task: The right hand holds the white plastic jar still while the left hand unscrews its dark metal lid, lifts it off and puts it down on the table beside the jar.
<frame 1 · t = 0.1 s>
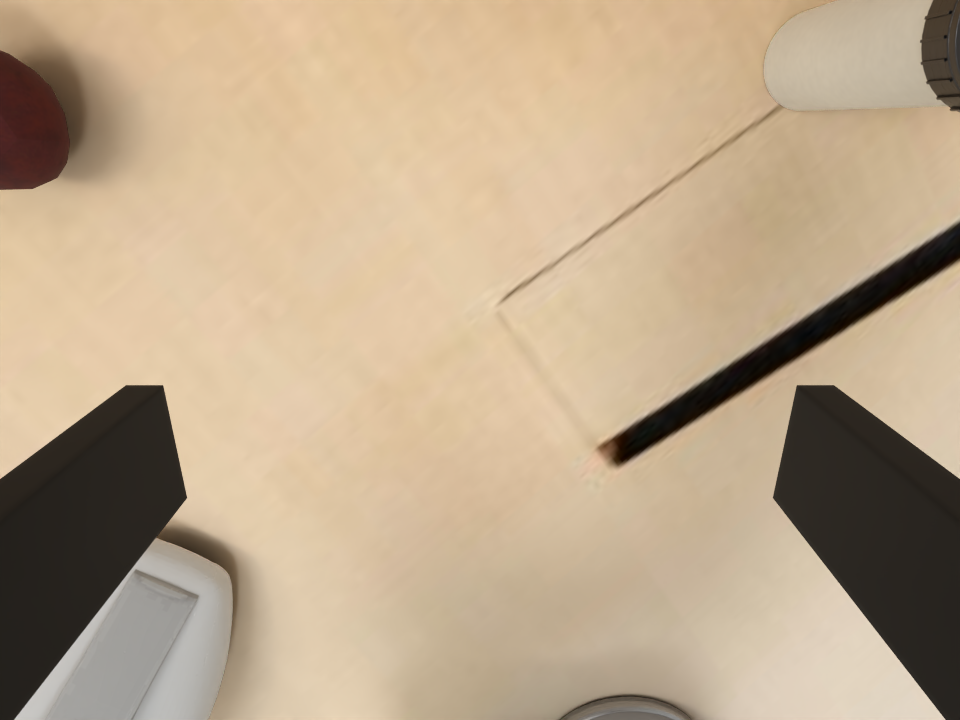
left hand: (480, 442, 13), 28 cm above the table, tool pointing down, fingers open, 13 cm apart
projector: (144, 631, 51), on the table
dark red ball: (35, 121, 36), on the table
jar: (809, 61, 35), on the table
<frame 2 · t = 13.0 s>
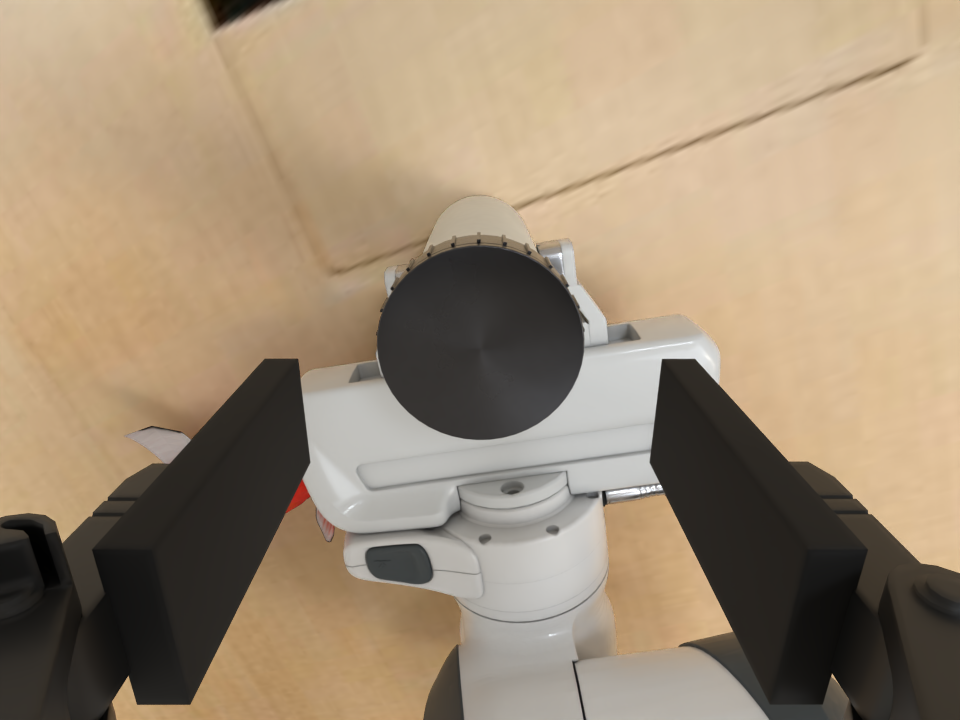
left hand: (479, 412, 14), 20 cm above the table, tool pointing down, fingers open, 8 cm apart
right hand: (476, 254, 26), fingers closed on jar, 5 cm apart
lid: (480, 345, 18), point 16 cm above the table, screwed on, not yet turned
fish: (253, 465, 38), on the table
jar: (480, 246, 33), on the table, touching right hand
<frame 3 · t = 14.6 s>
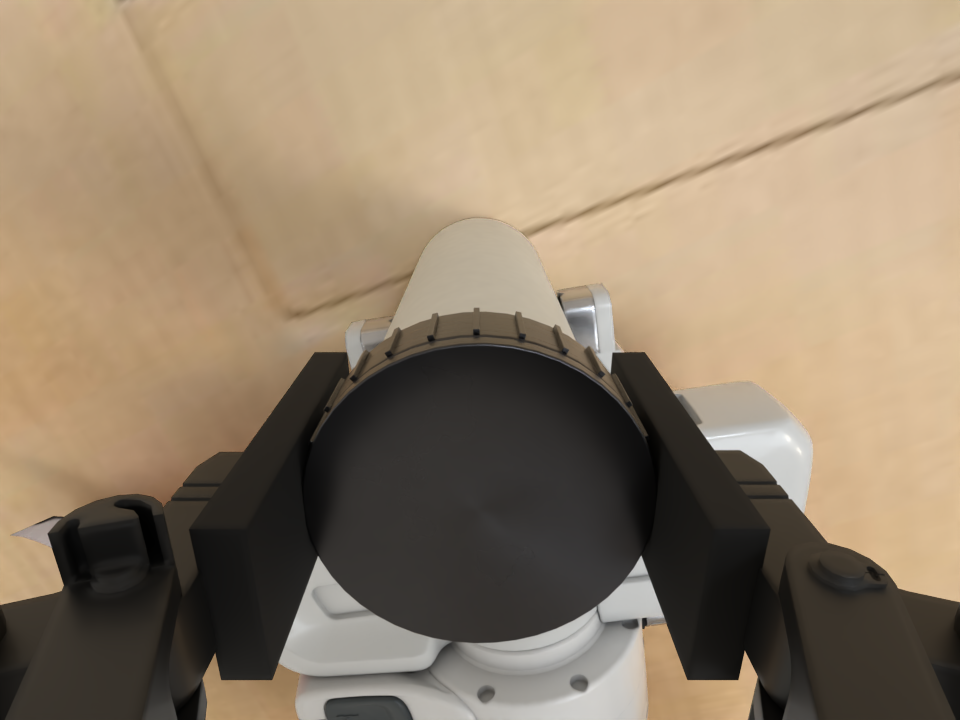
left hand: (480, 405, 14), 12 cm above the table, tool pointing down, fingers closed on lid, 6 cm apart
lid: (479, 498, 11), point 16 cm above the table, screwed on, not yet turned, touching left hand
fish: (197, 549, 30), on the table
jar: (479, 282, 25), on the table, touching right hand
when the left hand's fingers open (12 cm above the table, at t = 16.1 s): lid stays where it is, point 16 cm above the table.
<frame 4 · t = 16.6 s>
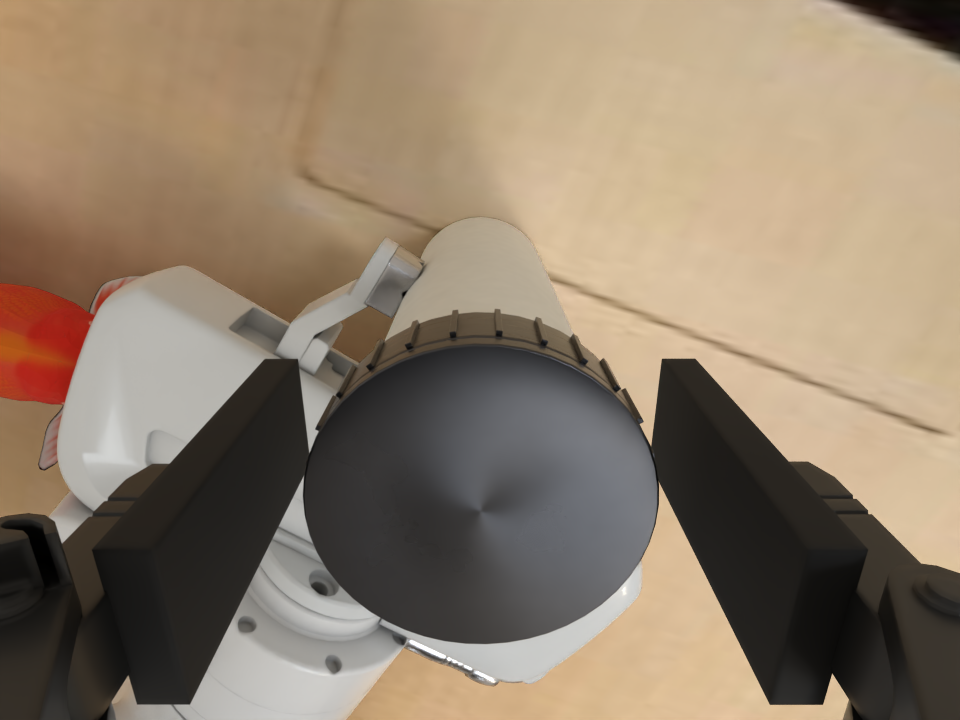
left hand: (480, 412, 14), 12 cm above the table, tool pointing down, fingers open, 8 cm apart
right hand: (494, 308, 19), fingers closed on jar, 5 cm apart
lid: (480, 499, 11), point 16 cm above the table, turned 91° so far, risen 0.2 cm, still on its thread
fish: (17, 297, 26), on the table
jar: (480, 281, 26), on the table, touching right hand
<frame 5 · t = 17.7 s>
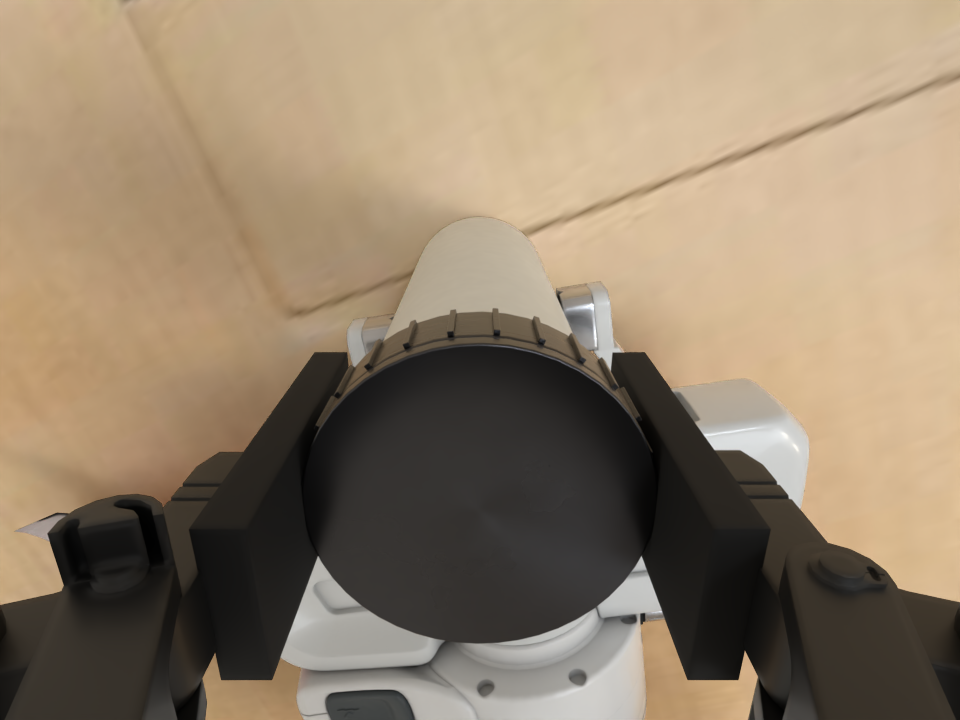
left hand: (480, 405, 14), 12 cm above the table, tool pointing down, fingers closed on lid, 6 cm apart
lid: (479, 498, 11), point 16 cm above the table, turned 91° so far, risen 0.2 cm, still on its thread, touching left hand
fish: (198, 546, 31), on the table
jar: (479, 281, 26), on the table, touching right hand
when the left hand's fingers open (0 cm above the table, at t = 25.2 s): lid drops 3 cm, point 1 cm above the table.
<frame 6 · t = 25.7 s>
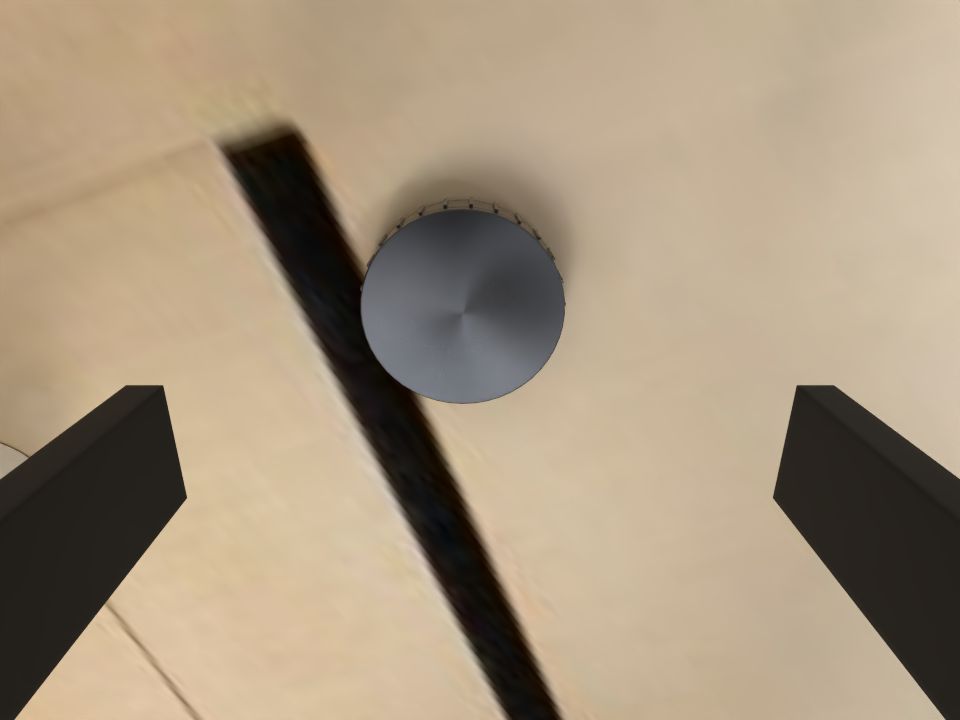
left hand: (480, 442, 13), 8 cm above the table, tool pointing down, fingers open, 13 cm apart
lid: (462, 309, 19), point 1 cm above the table, off its thread
when the right hand's fingers open (7 cm above the table, at t = 26.0 s): jar stays where it is, on the table.
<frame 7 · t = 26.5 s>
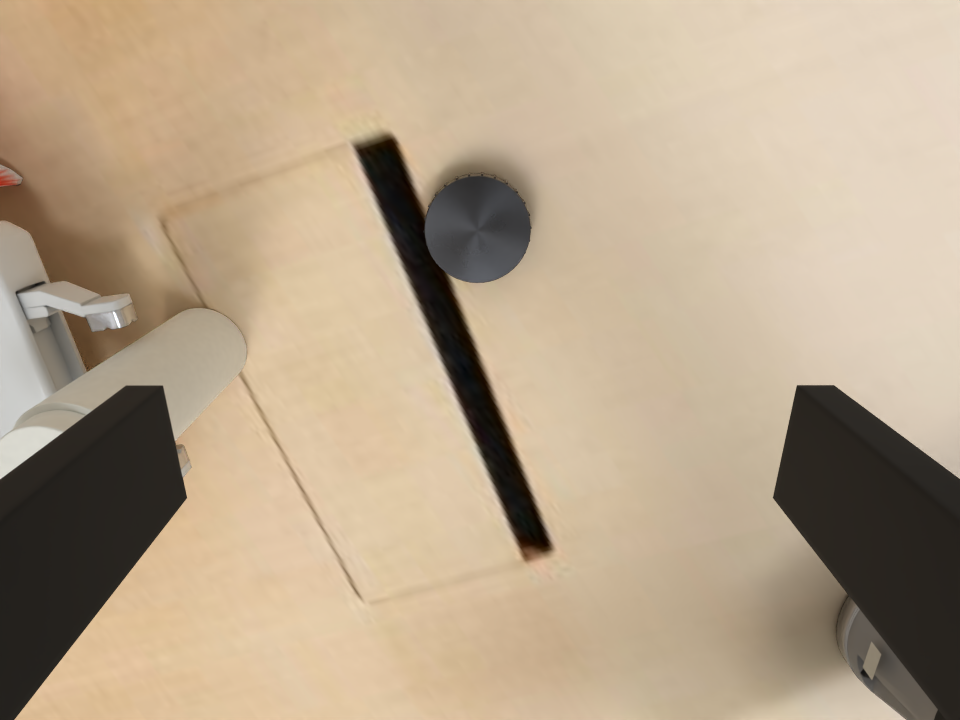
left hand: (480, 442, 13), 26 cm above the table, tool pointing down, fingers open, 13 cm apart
lid: (477, 230, 35), point 1 cm above the table, off its thread
jar: (205, 346, 40), on the table
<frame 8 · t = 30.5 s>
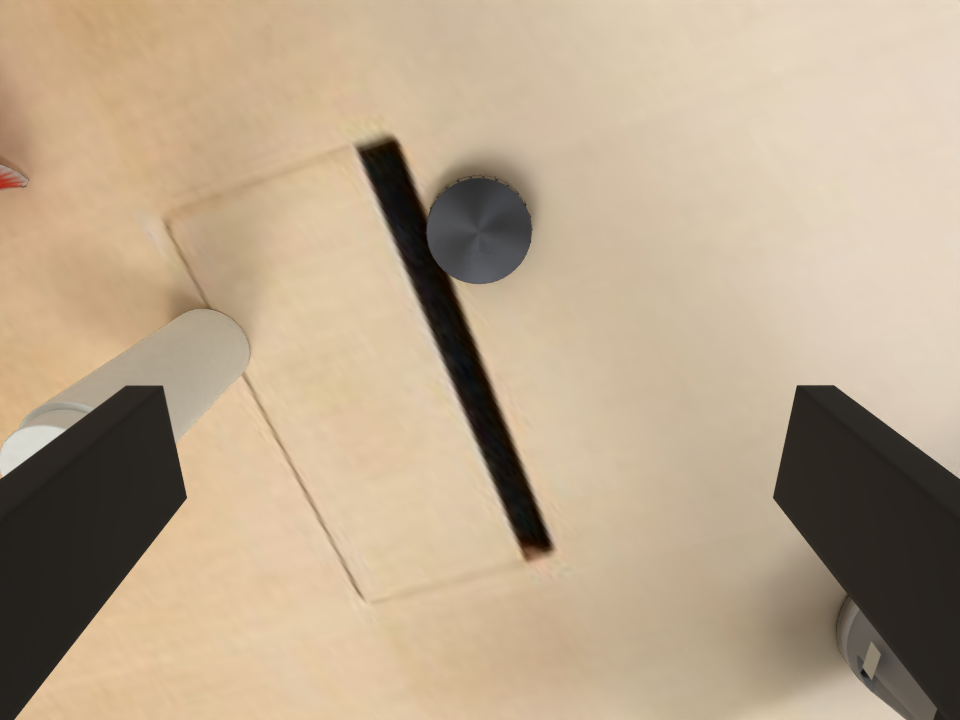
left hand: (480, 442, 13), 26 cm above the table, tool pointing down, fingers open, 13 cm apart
lid: (479, 231, 36), point 1 cm above the table, off its thread
jar: (209, 347, 40), on the table
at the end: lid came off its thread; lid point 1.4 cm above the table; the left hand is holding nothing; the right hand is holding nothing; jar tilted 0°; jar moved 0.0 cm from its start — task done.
